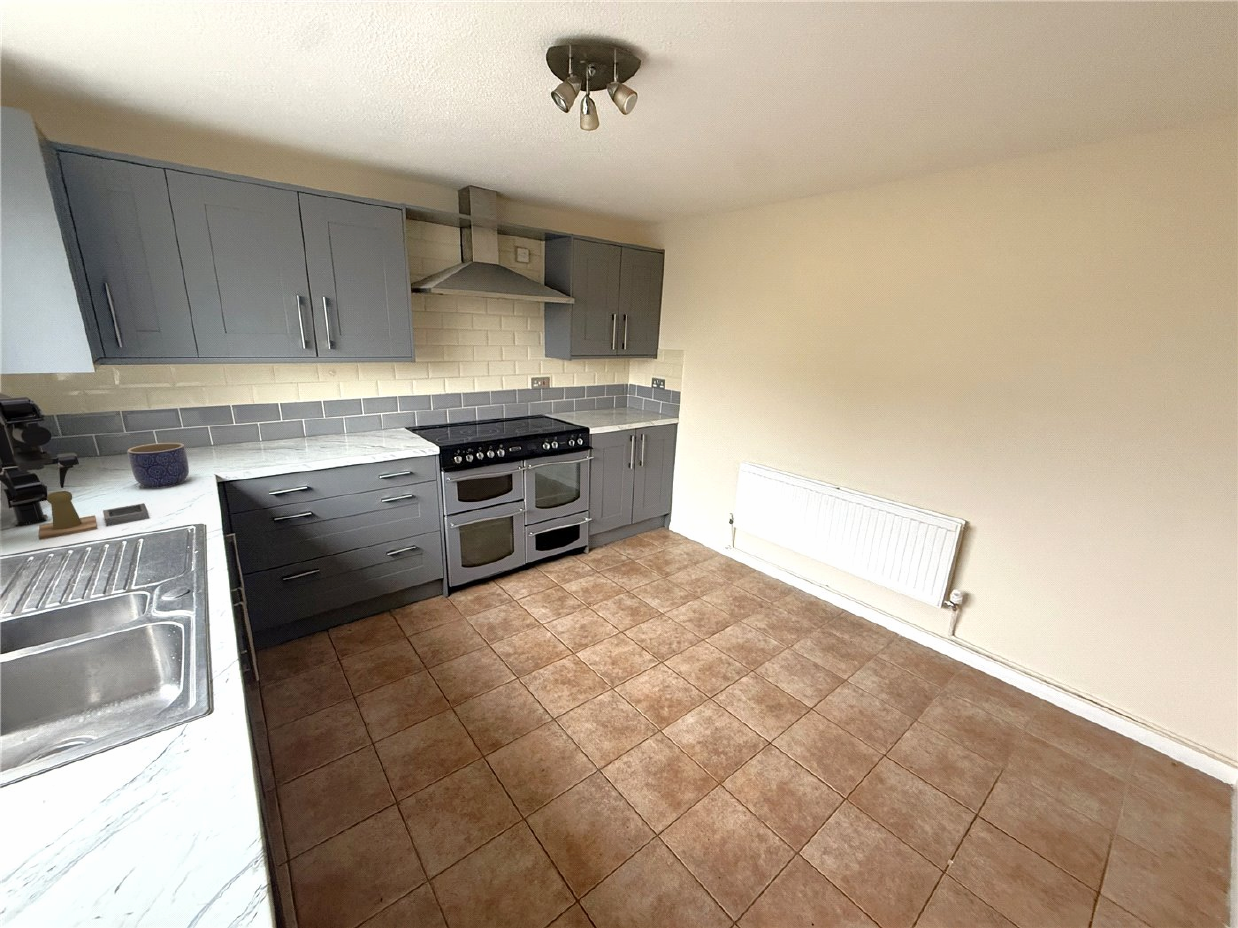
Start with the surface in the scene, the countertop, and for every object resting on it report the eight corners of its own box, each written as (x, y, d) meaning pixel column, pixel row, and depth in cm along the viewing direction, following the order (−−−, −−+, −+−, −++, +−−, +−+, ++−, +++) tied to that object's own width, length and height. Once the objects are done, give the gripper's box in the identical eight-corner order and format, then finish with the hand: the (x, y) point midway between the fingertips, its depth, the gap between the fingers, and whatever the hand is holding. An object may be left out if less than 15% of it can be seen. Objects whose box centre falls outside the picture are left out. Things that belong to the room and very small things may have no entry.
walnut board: (40, 527, 153) (39, 524, 152) (95, 518, 161) (95, 515, 161) (39, 540, 145) (38, 536, 145) (97, 529, 153) (96, 526, 153)
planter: (126, 492, 184) (117, 454, 180) (148, 479, 199) (139, 443, 195) (182, 488, 190) (174, 451, 186) (198, 476, 205) (191, 441, 201)
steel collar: (104, 517, 162) (102, 510, 161) (146, 509, 169) (144, 503, 168) (106, 526, 155) (104, 519, 155) (149, 518, 163) (147, 511, 162)
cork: (47, 530, 149) (37, 496, 146) (62, 522, 155) (53, 489, 152) (72, 528, 151) (63, 494, 148) (87, 521, 156) (77, 488, 153)
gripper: (-30, 451, 131) (-11, 506, 136) (73, 441, 145) (86, 491, 150) (-27, 443, 138) (-10, 495, 143) (70, 434, 152) (83, 482, 156)
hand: (39, 491), depth 148 cm, fingers open, 9 cm apart
